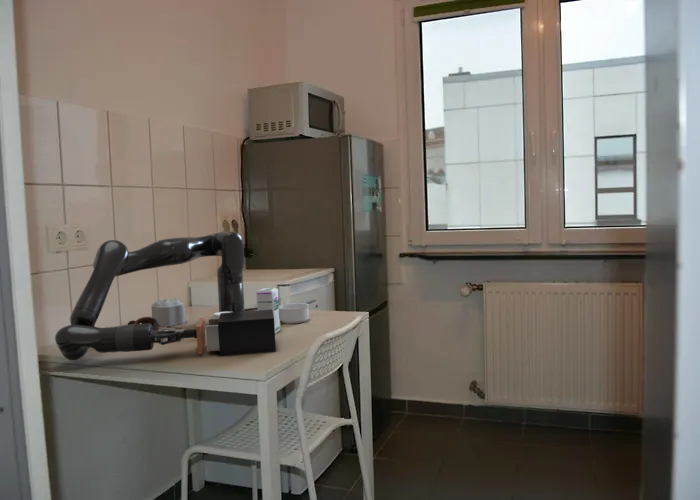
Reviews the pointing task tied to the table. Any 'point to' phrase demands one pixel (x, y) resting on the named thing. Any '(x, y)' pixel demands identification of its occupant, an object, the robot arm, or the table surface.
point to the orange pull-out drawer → (210, 333)
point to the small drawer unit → (246, 332)
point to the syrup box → (269, 304)
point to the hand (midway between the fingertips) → (197, 332)
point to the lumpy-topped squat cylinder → (168, 312)
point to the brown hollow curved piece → (146, 320)
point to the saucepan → (294, 312)
